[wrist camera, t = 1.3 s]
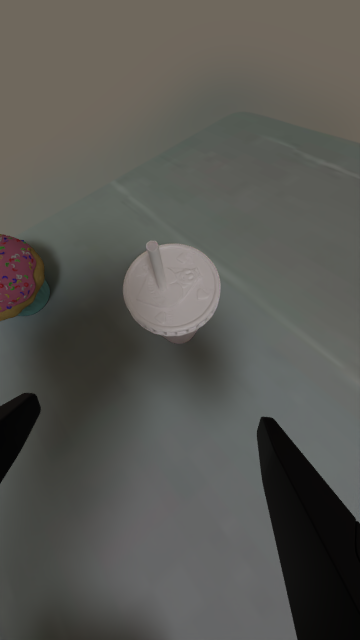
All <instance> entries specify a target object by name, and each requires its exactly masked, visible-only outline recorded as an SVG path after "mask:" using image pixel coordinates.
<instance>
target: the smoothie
mask: <svg viewBox="0 0 360 640" xmlns="http://www.w3.org/2000/svg"><path fill="white" fill-rule="evenodd" d="M146 248H147V251H145V252H144V253H142V254H141V255H140V256H139V257H137V258H136V259H135V260H134V262H133V263H132V264H131V266H130V267H129V269H128V271H127V273H126V275H125V278H124V283H123V296H124V300H125V303H126V306H127V308H128V310H129V311H130V313H131V315H132V317H133V318H134V320H135V321H136V322H137V323H138V324H140V325H141V326H142V327H143V328H144V329H146V330H148V331H150V332H152V333H154V334H158V335H161V336H163V337H164V338H165V339H167V340H168V341H170V342H172V343H175V344H182V343H185V342H187V341H189V340H190V339H191V338H192V337H193V336H194V334H195V333H196V331H197V330H198V328H200V327H202V326H203V325H204V324H205V323H206V322H207V321H208V320H209V319H210V318H211V317H212V316H213V314H214V312H215V310H216V308H217V306H218V302H219V297H220V278H219V274H218V272H217V269H216V267H215V265H214V264H213V262H212V261H211V260H210V259H209V258H208V257H207V256H206V255H205V254H204V253H202V252H201V251H199V250H197V249H195V248H193V247H190V246H187V245H183V244H164V245H159V246H158V243H157V242H156V241H150V242H148V243H147V245H146Z"/></svg>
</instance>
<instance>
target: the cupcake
mask: <svg viewBox="0 0 360 640" xmlns="http://www.w3.org/2000/svg"><path fill="white" fill-rule="evenodd" d="M49 296H50V289H49V286H48V284H47V282H46V280H45V276H44V263H43V261H42V259H41V258H40V257H39V255H38V254H37V253H36V252H35V251H34V249H33V248H32V247H30V246H29V245H28V244H27V243H26V242H24V240H19V239H16V238H14V237H10V236H6V235H1V234H0V321H2V320H5V319H8V318H12V317H15V316H17V315H18V316H28V315H32V314H35V313H37V312H38V311H40V310H41V309H42V308H43V307H44V306H45V305H46V303H47V301H48V299H49Z"/></svg>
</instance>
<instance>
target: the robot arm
mask: <svg viewBox="0 0 360 640" xmlns="http://www.w3.org/2000/svg"><path fill="white" fill-rule="evenodd" d="M40 411H41V407H40V404H39V401H38V398H37V396H36V395H35V394H33V393H23V394H21V395H19V396H18V397H16V398H14V399H12V400H11V401H9V402H7V403H5V404H3V405H2V406H0V483H1V482H2V480H3V478H4V477H5V475H6V474H7V472H8V470H9V469H10V467H11V466H12V464H13V462H14V461H15V459H16V458H17V456H18V454H19V453H20V451H21V449H22V447H23V445H24V443H25V442H26V440H27V438H28V436H29V434H30V432H31V430H32V428H33V426H34V424H35V422H36V420H37V418H38V416H39V414H40ZM257 442H258V450H259V459H260V467H261V475H262V482H263V487H264V492H265V496H266V500H267V505H268V509H269V514H270V518H271V523H272V527H273V532H274V536H275V541H276V545H277V550H278V554H279V559H280V563H281V568H282V572H283V577H284V581H285V586H286V590H287V595H288V599H289V604H290V608H291V612H292V617H293V621H294V626H295V630H296V635H297V639H298V640H360V523H359V522H358V521H356V519H355V517H354V516H353V515H352V513H351V512H350V511H349V510H348V509H347V507H346V506H345V505H344V504H343V503H342V501H341V500H340V499H339V498H338V496H337V495H336V494H335V493H334V492H333V490H332V489H331V488H330V487H329V485H328V484H327V483H326V482H325V481H324V479H323V478H322V477H321V476H320V474H319V473H318V472H317V471H316V470H315V468H314V467H313V466H312V465H311V464H310V462H309V461H308V460H307V459H306V457H305V456H304V455H303V454H302V453H301V451H300V450H299V449H298V448H297V446H296V445H295V444H294V443H293V442H292V440H291V439H290V438H289V437H288V436H287V434H286V433H285V432H284V431H283V429H282V428H281V427H280V426H279V425H278V423H277V422H276V421H275V420H274V419H273V418H271V417H261V419H260V422H259V426H258V429H257Z"/></svg>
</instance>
